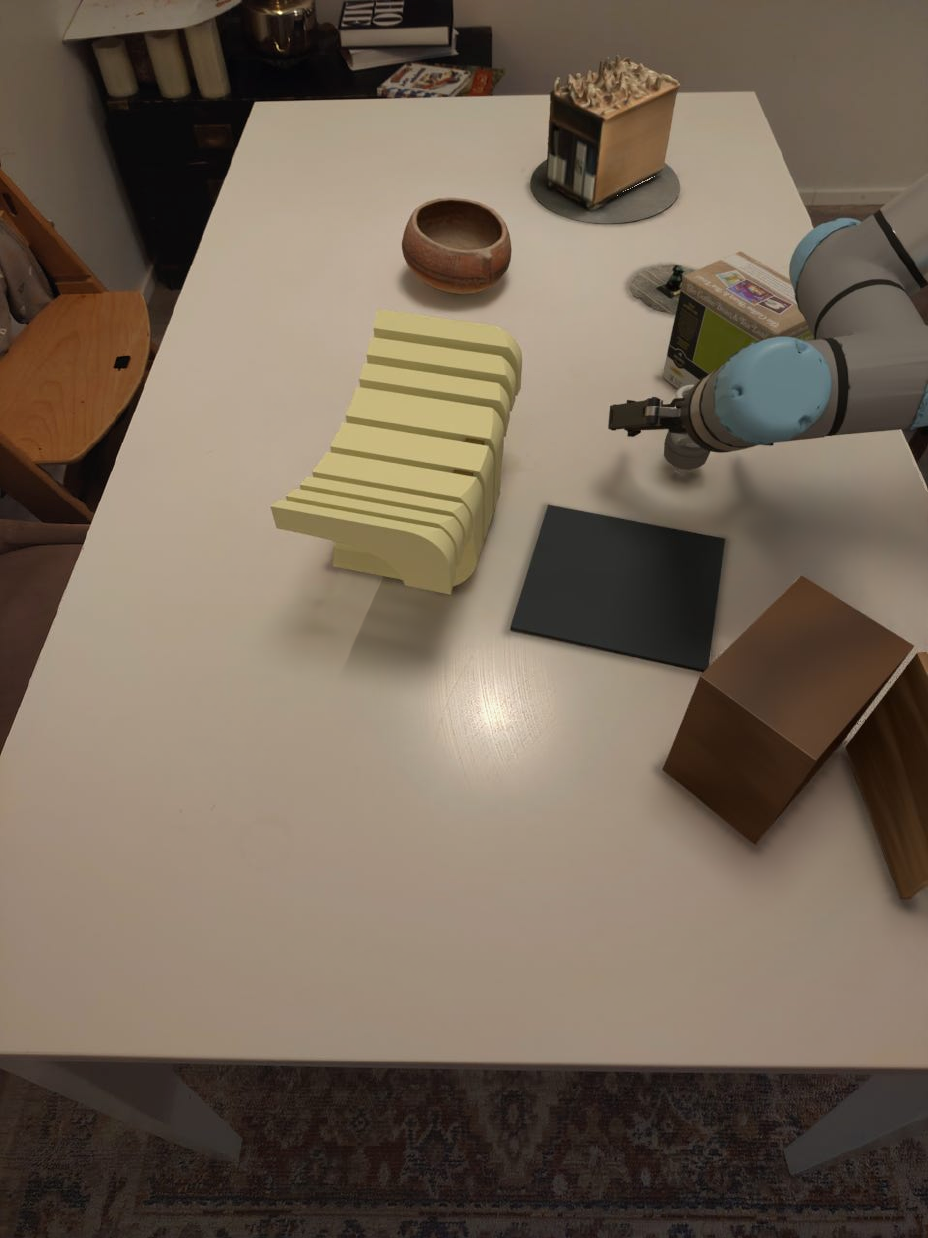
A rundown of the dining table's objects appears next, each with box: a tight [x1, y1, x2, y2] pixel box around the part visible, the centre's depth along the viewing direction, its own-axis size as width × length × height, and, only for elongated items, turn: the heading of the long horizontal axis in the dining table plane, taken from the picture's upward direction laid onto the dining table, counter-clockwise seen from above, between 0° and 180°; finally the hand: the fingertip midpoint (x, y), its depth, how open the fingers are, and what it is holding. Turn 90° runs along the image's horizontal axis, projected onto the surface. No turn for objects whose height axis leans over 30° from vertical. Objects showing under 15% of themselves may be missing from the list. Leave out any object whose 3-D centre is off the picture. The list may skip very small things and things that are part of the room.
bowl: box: [401, 197, 513, 295], centre depth 119 cm, size 16×16×10 cm
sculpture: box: [629, 264, 697, 315], centre depth 121 cm, size 12×9×8 cm
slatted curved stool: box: [269, 308, 523, 596], centre depth 86 cm, size 30×16×18 cm, turn 166°
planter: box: [530, 54, 681, 224], centre depth 132 cm, size 25×25×19 cm
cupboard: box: [662, 575, 915, 846], centre depth 69 cm, size 10×14×16 cm
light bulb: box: [663, 385, 712, 474], centre depth 93 cm, size 6×6×12 cm
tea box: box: [662, 251, 814, 393], centre depth 101 cm, size 15×10×15 cm, turn 34°
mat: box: [509, 504, 726, 673], centre depth 88 cm, size 20×18×1 cm
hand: (687, 427), depth 96 cm, fingers open, 12 cm apart
